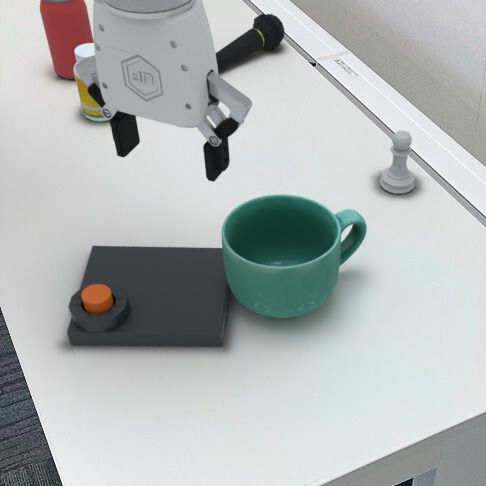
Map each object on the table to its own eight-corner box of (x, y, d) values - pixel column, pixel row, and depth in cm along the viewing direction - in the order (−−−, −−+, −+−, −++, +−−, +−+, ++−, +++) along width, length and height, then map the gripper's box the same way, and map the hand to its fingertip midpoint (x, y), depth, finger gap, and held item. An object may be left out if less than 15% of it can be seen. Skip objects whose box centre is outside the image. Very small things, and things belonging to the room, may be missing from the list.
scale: (70, 344, 82) (63, 321, 79) (95, 257, 91) (89, 234, 88) (222, 346, 82) (220, 323, 80) (231, 260, 92) (230, 237, 89)
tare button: (81, 314, 80) (78, 303, 79) (87, 294, 82) (84, 283, 81) (110, 314, 80) (108, 303, 79) (115, 294, 82) (113, 283, 81)
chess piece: (420, 182, 104) (428, 130, 99) (403, 199, 102) (409, 146, 96) (391, 170, 106) (396, 118, 100) (373, 186, 103) (377, 133, 97)
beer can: (77, 85, 117) (59, 6, 108) (46, 72, 119) (25, -6, 110) (108, 68, 121) (93, -10, 112) (77, 56, 123) (60, -21, 114)
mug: (246, 345, 83) (242, 280, 76) (213, 272, 90) (206, 206, 83) (386, 308, 88) (394, 243, 81) (343, 241, 95) (347, 177, 88)
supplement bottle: (81, 105, 113) (66, 42, 106) (118, 100, 115) (106, 38, 107) (85, 125, 110) (71, 61, 103) (124, 119, 111) (112, 56, 104)
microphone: (199, 104, 121) (289, 48, 129) (200, 77, 116) (293, 20, 124) (175, 82, 122) (266, 28, 130) (175, 54, 116) (269, 0, 125)
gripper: (28, -22, 62) (74, 160, 75) (222, 21, 58) (236, 205, 71) (81, -53, 67) (116, 122, 79) (263, -16, 63) (269, 162, 76)
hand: (172, 161), depth 75 cm, fingers open, 9 cm apart
